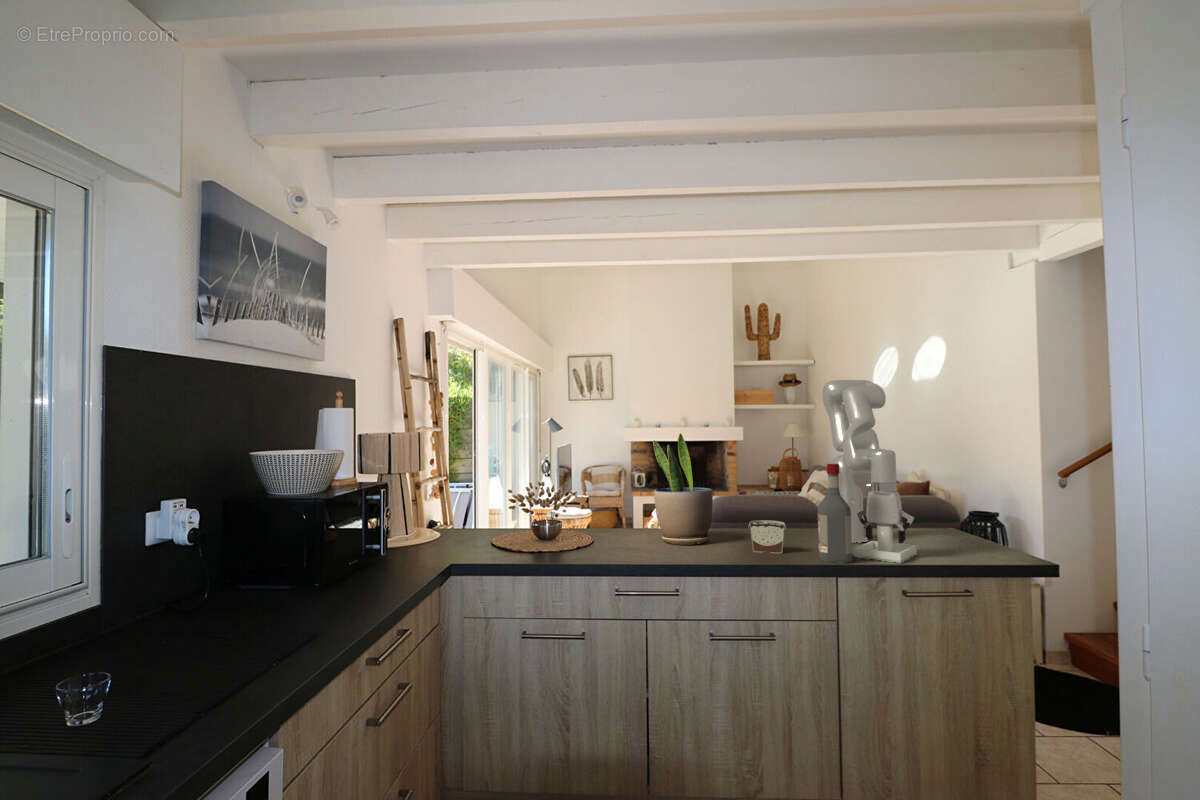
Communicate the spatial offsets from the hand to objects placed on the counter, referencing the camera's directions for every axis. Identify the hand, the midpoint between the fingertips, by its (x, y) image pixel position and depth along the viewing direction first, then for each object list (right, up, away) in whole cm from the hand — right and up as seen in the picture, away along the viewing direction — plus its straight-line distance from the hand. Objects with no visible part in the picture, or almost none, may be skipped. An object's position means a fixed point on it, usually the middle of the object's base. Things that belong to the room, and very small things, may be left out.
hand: (885, 541), depth 202 cm
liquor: (-19, -5, -7) cm, 20 cm away
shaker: (0, -4, 0) cm, 4 cm away
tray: (0, -5, 0) cm, 5 cm away
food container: (-35, -6, +9) cm, 37 cm away
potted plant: (-62, -7, +28) cm, 68 cm away
